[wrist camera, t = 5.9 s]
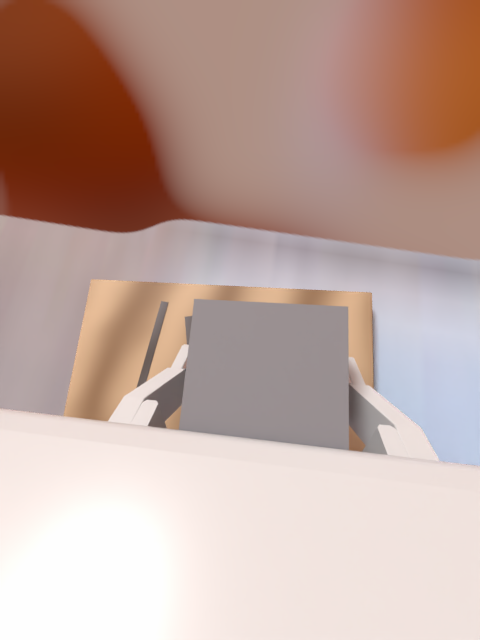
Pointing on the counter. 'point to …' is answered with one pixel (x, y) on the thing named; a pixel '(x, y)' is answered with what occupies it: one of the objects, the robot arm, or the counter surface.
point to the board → (176, 337)
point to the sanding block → (268, 372)
